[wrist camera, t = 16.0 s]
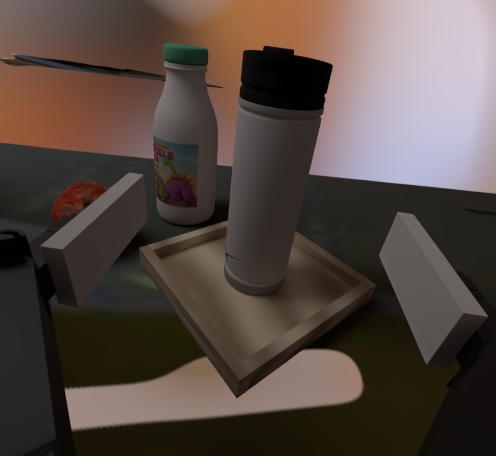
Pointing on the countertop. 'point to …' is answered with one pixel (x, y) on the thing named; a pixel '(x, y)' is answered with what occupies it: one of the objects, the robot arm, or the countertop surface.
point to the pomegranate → (76, 199)
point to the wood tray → (252, 302)
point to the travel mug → (271, 163)
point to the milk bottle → (185, 139)
